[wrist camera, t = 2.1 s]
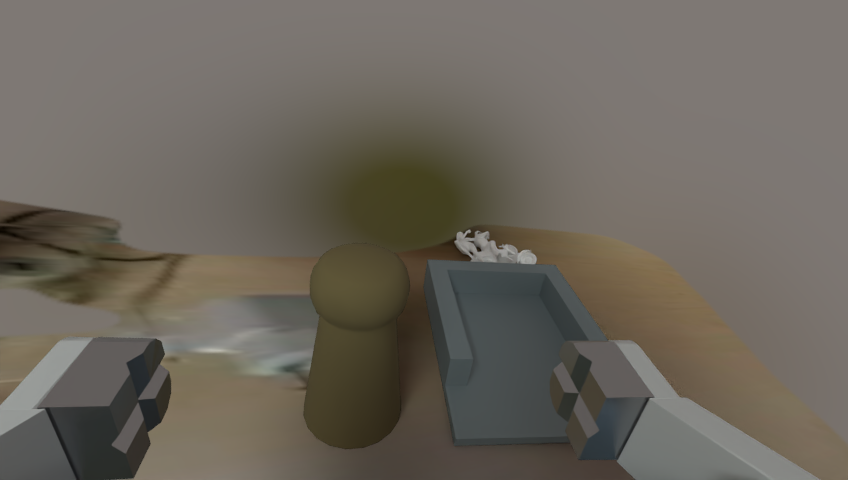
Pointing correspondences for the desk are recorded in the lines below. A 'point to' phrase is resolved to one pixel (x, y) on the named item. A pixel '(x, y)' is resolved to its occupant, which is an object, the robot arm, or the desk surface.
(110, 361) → the robot arm
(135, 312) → the desk surface
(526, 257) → the figurine
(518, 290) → the tray
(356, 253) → the cork
